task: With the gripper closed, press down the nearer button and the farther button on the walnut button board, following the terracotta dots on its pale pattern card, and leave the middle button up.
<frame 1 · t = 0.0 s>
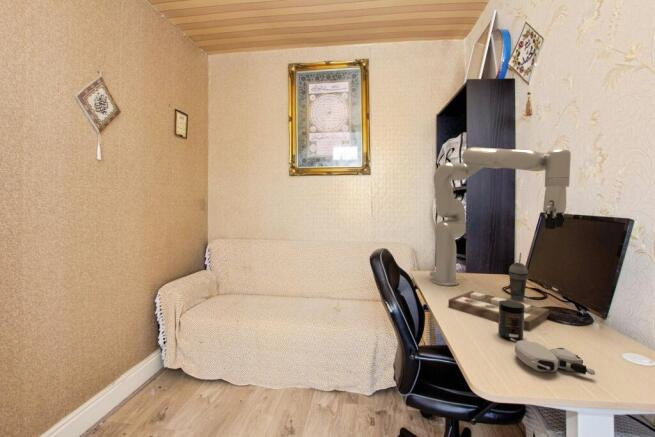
hand: (554, 227, 118), 31 cm above the table, tool pointing down, fingers open, 9 cm apart
middle button: (498, 302, 116), point 3 cm above the table, slide at 0.0 cm
beverage cup: (517, 299, 129), on the table
button 2: (522, 308, 110), point 3 cm above the table, slide at 0.0 cm
button 1: (477, 297, 122), point 3 cm above the table, slide at 0.0 cm
button board: (496, 312, 115), on the table
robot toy: (548, 367, 78), on the table
supplement container: (510, 337, 95), on the table
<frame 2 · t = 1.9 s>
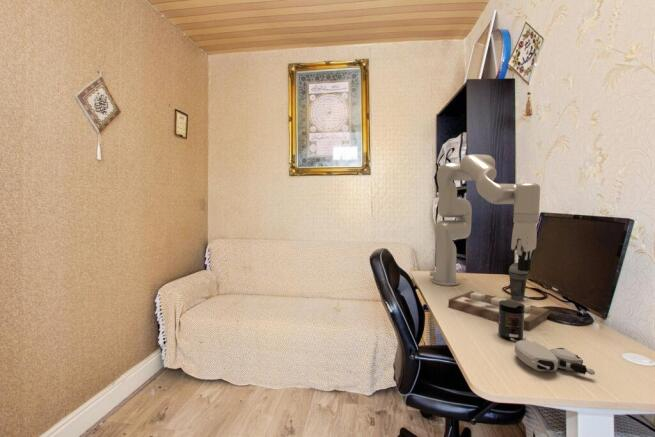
hand: (523, 270, 109), 17 cm above the table, tool pointing down, fingers closed
nothing on the table moved.
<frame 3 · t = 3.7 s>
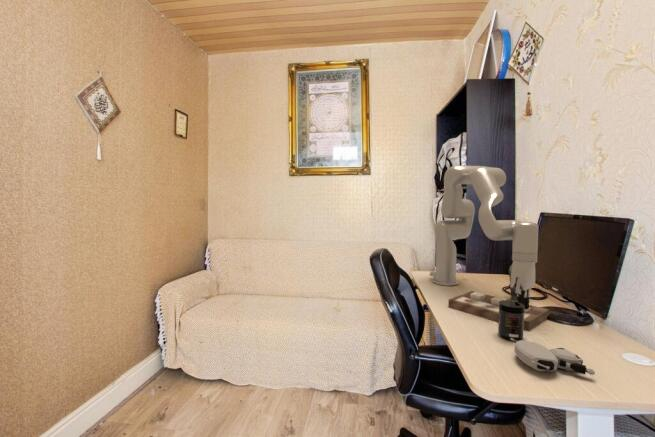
hand: (522, 307, 109), 4 cm above the table, tool pointing down, fingers closed
button 2: (522, 311, 110), point 2 cm above the table, slide at 0.9 cm, touching gripper
everything else where it was.
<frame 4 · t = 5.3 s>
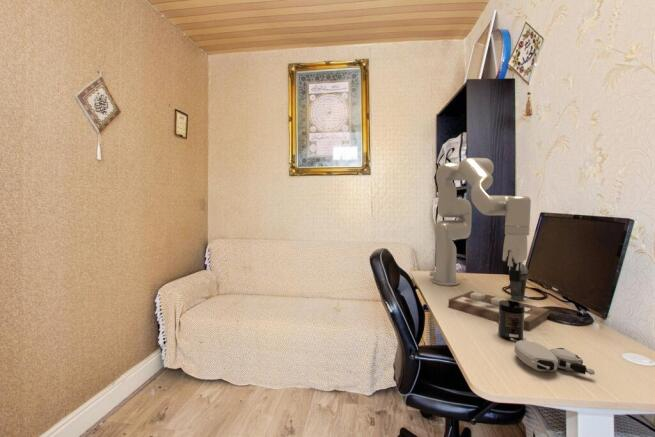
hand: (514, 280, 111), 13 cm above the table, tool pointing down, fingers closed
button 2: (522, 311, 110), point 2 cm above the table, slide at 1.2 cm
everything else where it was.
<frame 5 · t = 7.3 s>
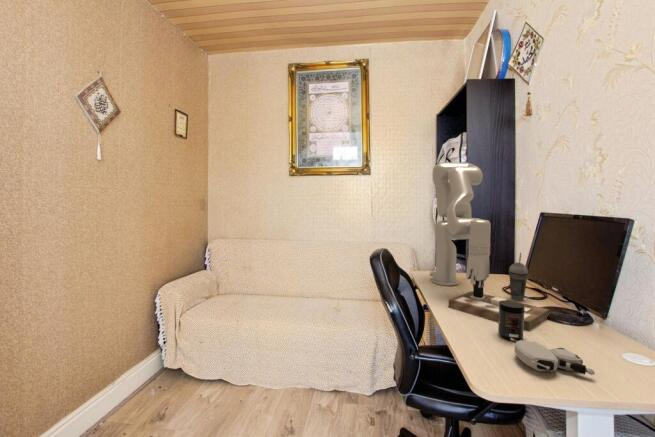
hand: (478, 296, 122), 4 cm above the table, tool pointing down, fingers closed
button 1: (477, 299, 122), point 2 cm above the table, slide at 1.0 cm, touching gripper
everything else where it was.
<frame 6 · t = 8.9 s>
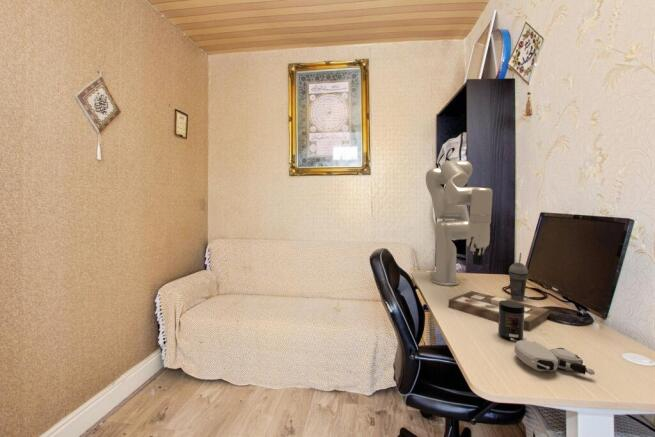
hand: (477, 264, 124), 16 cm above the table, tool pointing down, fingers closed
button 1: (477, 300, 122), point 2 cm above the table, slide at 1.2 cm
everything else where it was.
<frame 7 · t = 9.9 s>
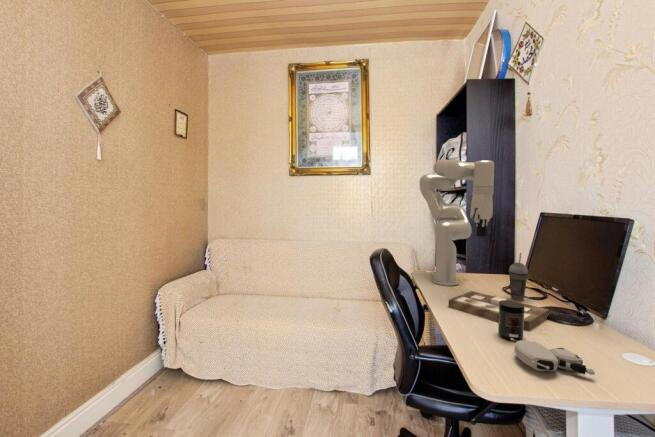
hand: (481, 236, 126), 27 cm above the table, tool pointing down, fingers closed
nothing on the table moved.
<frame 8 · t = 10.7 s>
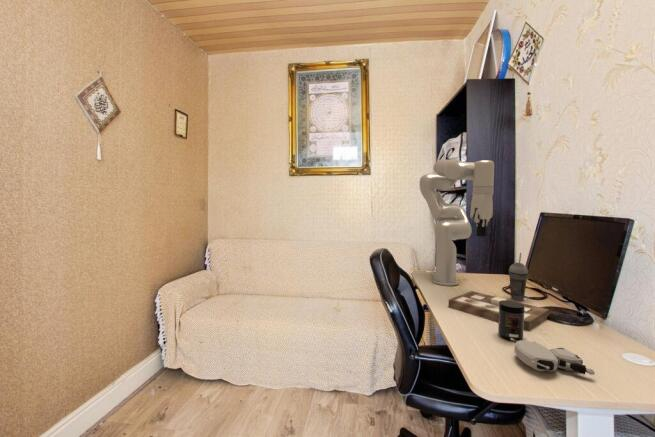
hand: (481, 236, 126), 27 cm above the table, tool pointing down, fingers closed
nothing on the table moved.
at the end: button 2 slide at 1.2 cm; button 1 slide at 1.2 cm; middle button slide at 0.0 cm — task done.
